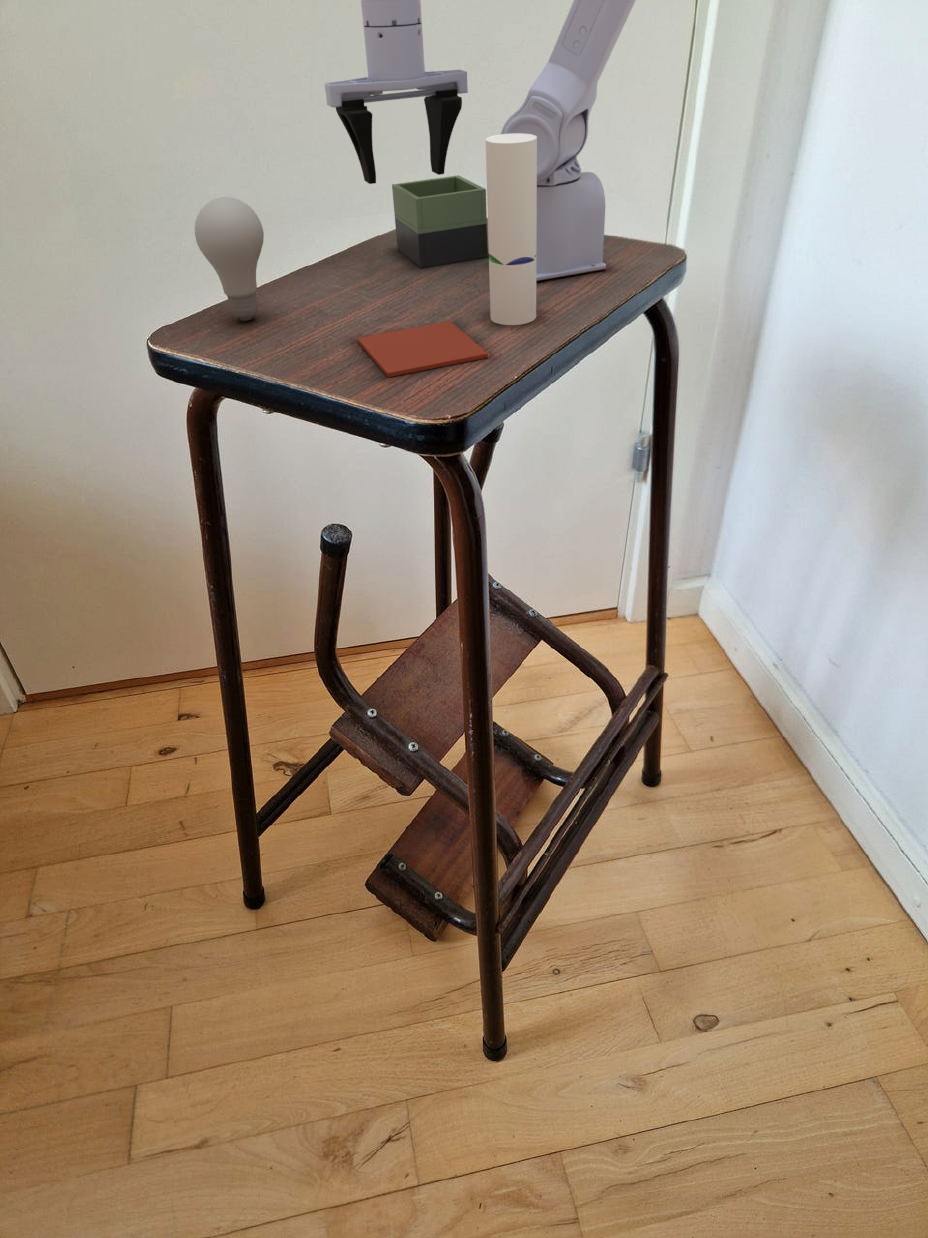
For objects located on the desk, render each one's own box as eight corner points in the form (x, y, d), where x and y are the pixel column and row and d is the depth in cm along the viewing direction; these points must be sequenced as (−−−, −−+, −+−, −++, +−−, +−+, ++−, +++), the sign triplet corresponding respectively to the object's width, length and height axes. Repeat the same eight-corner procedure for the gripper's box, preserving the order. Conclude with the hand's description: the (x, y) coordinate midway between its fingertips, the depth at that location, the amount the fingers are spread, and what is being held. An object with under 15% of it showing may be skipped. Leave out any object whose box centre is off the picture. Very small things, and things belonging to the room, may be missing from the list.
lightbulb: (264, 332, 83) (240, 206, 76) (204, 330, 84) (175, 206, 77) (287, 310, 88) (267, 189, 81) (229, 308, 89) (205, 189, 82)
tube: (500, 307, 85) (496, 132, 76) (542, 311, 84) (543, 133, 75) (483, 322, 82) (477, 142, 73) (527, 327, 81) (526, 143, 71)
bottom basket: (461, 239, 104) (460, 207, 102) (487, 256, 99) (487, 223, 96) (397, 249, 102) (394, 217, 100) (420, 268, 96) (418, 234, 94)
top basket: (460, 207, 102) (458, 174, 100) (487, 223, 96) (486, 188, 94) (394, 217, 100) (391, 184, 98) (418, 234, 94) (415, 198, 92)
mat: (450, 324, 82) (449, 320, 82) (488, 357, 75) (487, 353, 75) (357, 342, 80) (356, 337, 79) (388, 377, 73) (387, 372, 73)
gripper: (447, 16, 91) (454, 162, 99) (310, 27, 87) (329, 178, 95) (473, 20, 86) (478, 173, 94) (328, 32, 82) (347, 191, 90)
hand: (404, 177), depth 94 cm, fingers open, 7 cm apart
